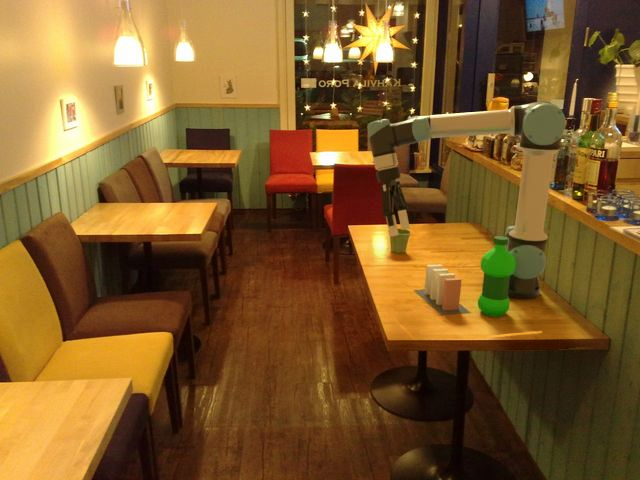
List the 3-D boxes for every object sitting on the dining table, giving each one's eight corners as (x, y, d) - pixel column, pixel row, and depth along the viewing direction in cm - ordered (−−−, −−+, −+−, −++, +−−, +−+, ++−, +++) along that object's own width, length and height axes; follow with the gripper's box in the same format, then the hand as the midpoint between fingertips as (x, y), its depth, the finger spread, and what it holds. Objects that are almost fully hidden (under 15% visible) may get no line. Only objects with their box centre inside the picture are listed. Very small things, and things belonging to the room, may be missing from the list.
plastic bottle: (487, 322, 184) (495, 243, 177) (469, 309, 194) (477, 233, 187) (516, 319, 187) (525, 241, 180) (497, 306, 197) (506, 232, 190)
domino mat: (413, 291, 207) (413, 290, 207) (439, 289, 210) (440, 288, 210) (441, 317, 187) (441, 315, 187) (470, 314, 190) (471, 312, 189)
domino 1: (424, 293, 205) (426, 265, 202) (437, 292, 206) (440, 264, 203) (426, 294, 203) (428, 266, 200) (439, 293, 205) (442, 265, 202)
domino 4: (441, 308, 192) (444, 278, 189) (456, 307, 193) (459, 277, 191) (444, 310, 191) (447, 280, 188) (458, 309, 192) (461, 279, 189)
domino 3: (435, 303, 196) (438, 273, 194) (449, 302, 198) (452, 273, 195) (437, 305, 195) (440, 275, 192) (452, 303, 196) (454, 274, 193)
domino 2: (429, 298, 201) (432, 269, 198) (443, 297, 202) (446, 268, 199) (431, 299, 199) (434, 271, 196) (445, 298, 200) (448, 270, 198)
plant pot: (411, 255, 247) (412, 234, 245) (387, 254, 248) (389, 234, 245) (408, 248, 256) (409, 228, 254) (385, 247, 257) (387, 228, 254)
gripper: (387, 168, 209) (399, 228, 211) (363, 173, 186) (377, 240, 188) (408, 163, 206) (420, 224, 208) (386, 168, 183) (400, 236, 185)
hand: (400, 232), depth 198 cm, fingers open, 13 cm apart
